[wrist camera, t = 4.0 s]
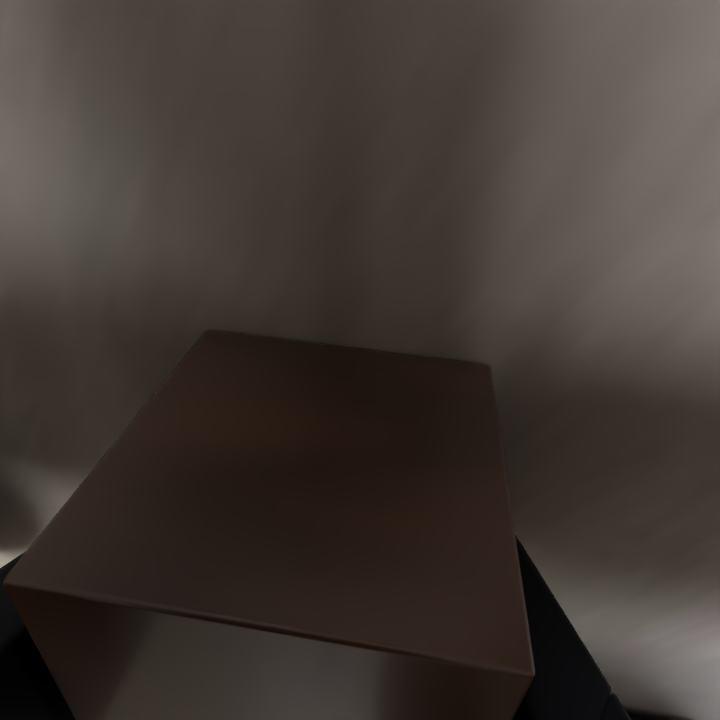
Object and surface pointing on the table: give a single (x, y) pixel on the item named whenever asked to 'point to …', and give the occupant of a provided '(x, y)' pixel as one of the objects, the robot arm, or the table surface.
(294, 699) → the block
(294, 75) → the table surface
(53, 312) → the table surface
